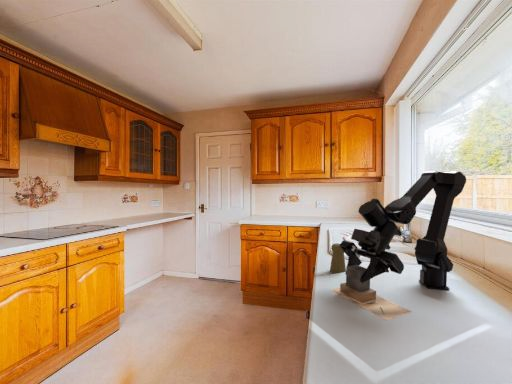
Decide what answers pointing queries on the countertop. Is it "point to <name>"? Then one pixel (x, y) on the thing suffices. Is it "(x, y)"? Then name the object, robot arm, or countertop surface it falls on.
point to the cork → (337, 260)
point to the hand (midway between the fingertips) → (353, 278)
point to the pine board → (380, 307)
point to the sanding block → (357, 286)
